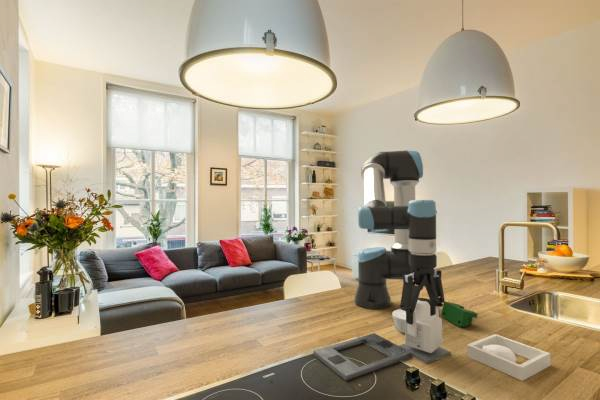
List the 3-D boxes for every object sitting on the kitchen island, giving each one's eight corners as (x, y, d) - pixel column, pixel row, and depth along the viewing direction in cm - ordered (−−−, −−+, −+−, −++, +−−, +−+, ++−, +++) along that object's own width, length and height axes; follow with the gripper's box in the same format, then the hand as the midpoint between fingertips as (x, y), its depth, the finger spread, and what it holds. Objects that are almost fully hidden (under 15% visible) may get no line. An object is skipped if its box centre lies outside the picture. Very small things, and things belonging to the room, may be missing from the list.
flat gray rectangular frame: (313, 354, 89) (313, 350, 89) (374, 336, 100) (374, 332, 100) (345, 380, 76) (345, 375, 76) (411, 356, 87) (411, 352, 87)
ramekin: (391, 333, 103) (391, 317, 103) (393, 321, 113) (393, 306, 113) (428, 338, 99) (427, 322, 99) (426, 325, 110) (426, 310, 110)
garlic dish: (466, 356, 87) (466, 344, 88) (495, 344, 94) (495, 333, 94) (522, 381, 75) (522, 367, 75) (550, 365, 82) (550, 353, 82)
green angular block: (470, 338, 109) (482, 318, 106) (455, 335, 108) (467, 315, 105) (452, 313, 120) (463, 294, 117) (438, 310, 119) (449, 291, 116)
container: (416, 336, 96) (416, 294, 96) (442, 344, 91) (442, 299, 91) (404, 344, 91) (404, 300, 91) (431, 354, 85) (430, 306, 85)
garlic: (482, 363, 84) (482, 349, 84) (479, 352, 90) (479, 339, 90) (518, 369, 81) (518, 355, 81) (512, 357, 87) (512, 344, 87)
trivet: (398, 348, 92) (397, 345, 92) (421, 340, 97) (421, 338, 97) (426, 363, 84) (426, 360, 84) (450, 354, 89) (450, 351, 89)
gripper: (406, 258, 82) (407, 345, 82) (457, 251, 93) (458, 327, 93) (385, 254, 89) (386, 334, 89) (435, 248, 99) (436, 319, 99)
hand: (423, 331), depth 91 cm, fingers closed on container, 9 cm apart
